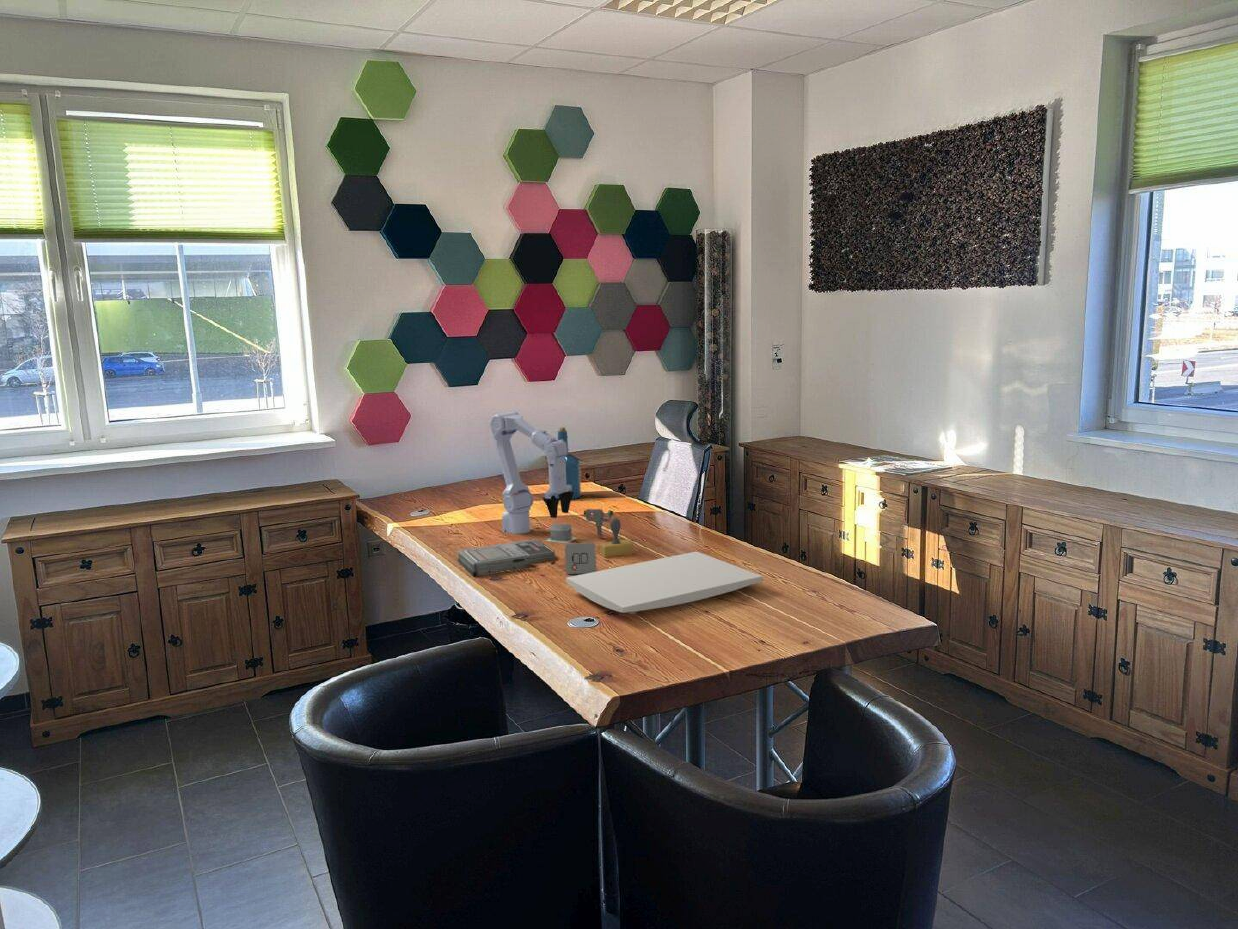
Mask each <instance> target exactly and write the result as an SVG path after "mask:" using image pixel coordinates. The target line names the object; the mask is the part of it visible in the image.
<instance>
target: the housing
mask: <svg viewBox="0 0 1238 929" xmlns="http://www.w3.org/2000/svg"><path fill="white" fill-rule="evenodd" d="M549 530H550V538H551V540H556V541H568V540H570V539H572V537H573V533H572V524H570V523H560V522H559V523H558V522H556V523H553V524H551V525H550V528H549Z"/></svg>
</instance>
